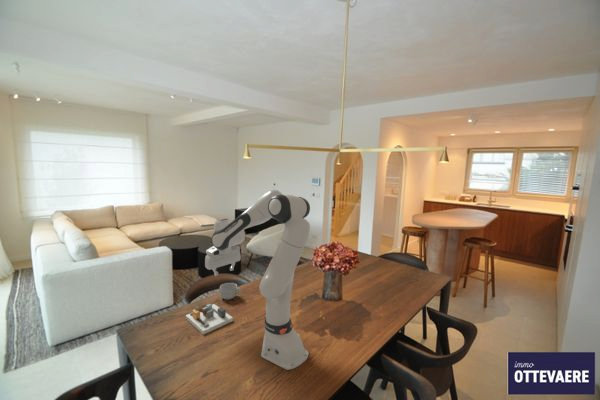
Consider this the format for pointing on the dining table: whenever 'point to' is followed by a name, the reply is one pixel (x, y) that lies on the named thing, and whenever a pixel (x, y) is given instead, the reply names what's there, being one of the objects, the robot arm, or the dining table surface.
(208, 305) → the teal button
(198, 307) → the walnut lever
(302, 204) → the robot arm
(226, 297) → the teacup
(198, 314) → the orange slider
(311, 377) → the dining table surface
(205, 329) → the panel
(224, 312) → the black slider
